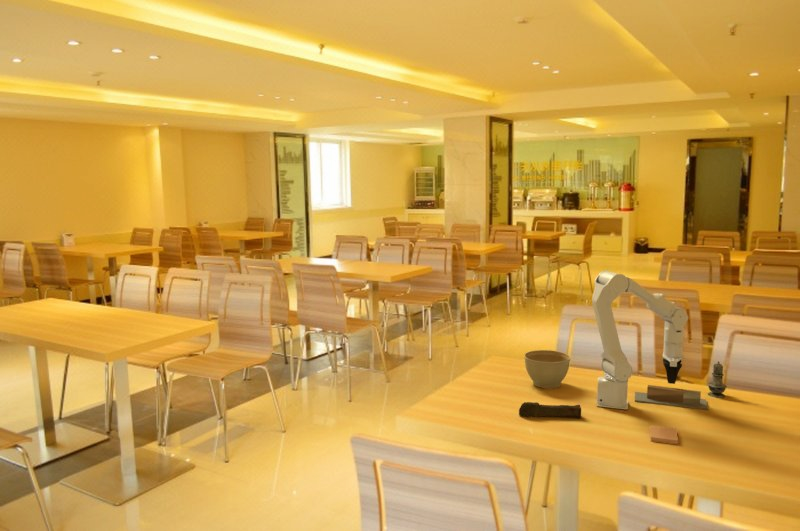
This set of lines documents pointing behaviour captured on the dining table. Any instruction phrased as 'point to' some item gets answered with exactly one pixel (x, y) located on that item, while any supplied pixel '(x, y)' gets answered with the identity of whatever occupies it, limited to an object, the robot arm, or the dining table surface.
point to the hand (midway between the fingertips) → (671, 382)
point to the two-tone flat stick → (673, 395)
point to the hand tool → (549, 410)
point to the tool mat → (643, 398)
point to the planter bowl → (547, 367)
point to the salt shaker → (717, 382)
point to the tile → (663, 434)
